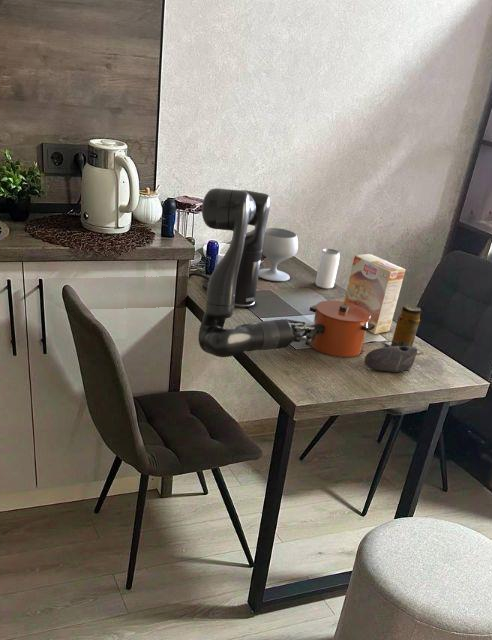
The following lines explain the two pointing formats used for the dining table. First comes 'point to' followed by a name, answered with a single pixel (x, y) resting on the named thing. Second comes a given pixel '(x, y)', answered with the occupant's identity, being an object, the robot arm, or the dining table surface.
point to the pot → (340, 327)
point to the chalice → (278, 251)
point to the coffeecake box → (375, 289)
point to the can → (327, 268)
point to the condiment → (406, 327)
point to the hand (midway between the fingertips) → (322, 328)
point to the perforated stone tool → (391, 358)
